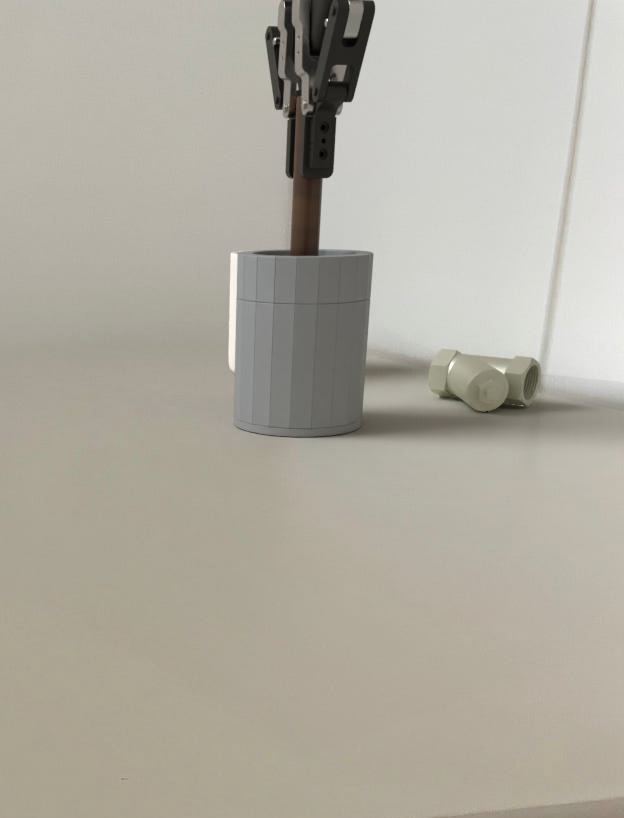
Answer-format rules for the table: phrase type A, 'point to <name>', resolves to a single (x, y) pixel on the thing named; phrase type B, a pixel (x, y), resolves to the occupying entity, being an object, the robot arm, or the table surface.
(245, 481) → the table surface
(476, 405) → the pipe fitting
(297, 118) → the hammer
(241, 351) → the cup
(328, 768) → the table surface
